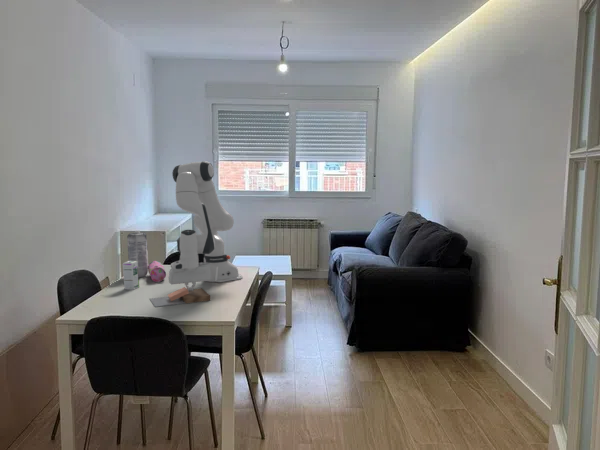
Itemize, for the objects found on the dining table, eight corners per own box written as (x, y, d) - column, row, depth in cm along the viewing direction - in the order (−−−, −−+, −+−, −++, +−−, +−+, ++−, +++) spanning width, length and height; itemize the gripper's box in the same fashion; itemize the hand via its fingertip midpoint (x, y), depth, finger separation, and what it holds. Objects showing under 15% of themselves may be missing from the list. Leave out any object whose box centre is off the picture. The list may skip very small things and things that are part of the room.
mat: (178, 295, 260) (178, 295, 260) (185, 303, 245) (185, 302, 245) (149, 299, 254) (149, 298, 254) (155, 307, 239) (155, 306, 239)
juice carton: (147, 277, 304) (145, 231, 301) (128, 278, 302) (126, 232, 299) (149, 274, 313) (146, 229, 309) (131, 274, 311) (128, 230, 308)
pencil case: (166, 281, 293) (166, 265, 292) (149, 283, 290) (149, 267, 289) (163, 274, 313) (163, 259, 312) (148, 275, 310) (147, 260, 309)
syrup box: (134, 289, 274) (132, 262, 272) (123, 289, 275) (122, 262, 273) (139, 287, 279) (138, 260, 278) (129, 286, 280) (128, 260, 279)
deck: (201, 293, 265) (201, 288, 264) (210, 300, 250) (210, 295, 250) (178, 295, 260) (178, 290, 259) (185, 303, 245) (185, 298, 245)
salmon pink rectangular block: (186, 290, 256) (184, 286, 256) (188, 293, 251) (187, 289, 250) (169, 298, 253) (167, 294, 252) (171, 301, 247) (169, 297, 247)
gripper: (208, 260, 259) (209, 287, 261) (167, 264, 251) (168, 292, 252) (212, 262, 254) (212, 290, 255) (169, 266, 245) (171, 295, 247)
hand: (190, 291), depth 254 cm, fingers closed
